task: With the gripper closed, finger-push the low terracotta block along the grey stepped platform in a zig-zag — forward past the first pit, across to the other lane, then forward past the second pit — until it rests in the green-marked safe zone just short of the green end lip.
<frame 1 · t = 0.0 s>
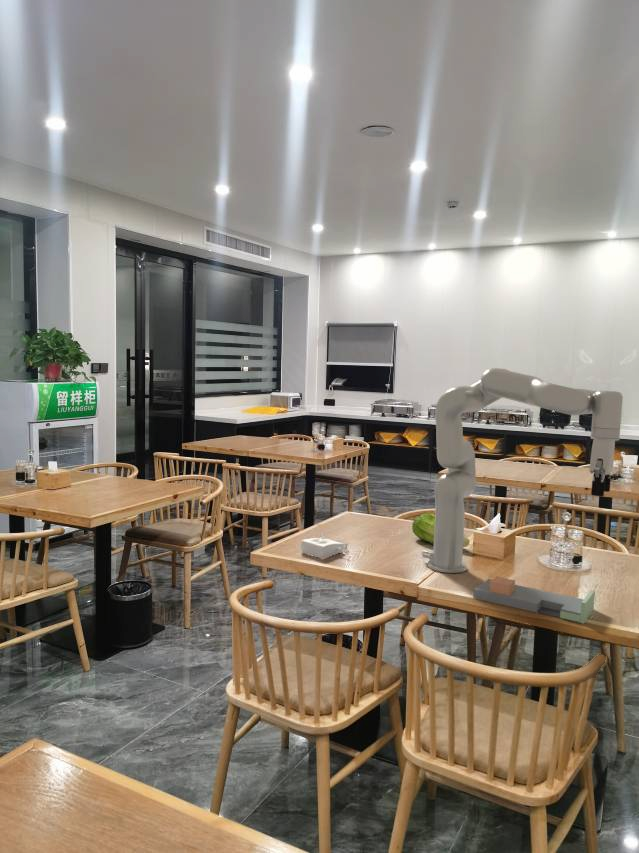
hand: (600, 493, 184), 31 cm above the table, tool pointing down, fingers open, 9 cm apart
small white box: (327, 553, 224), on the table
grey stepped platform: (532, 603, 180), on the table
lettuce: (440, 545, 240), on the table
block: (502, 591, 182), point 2 cm above the table, touching grey stepped platform
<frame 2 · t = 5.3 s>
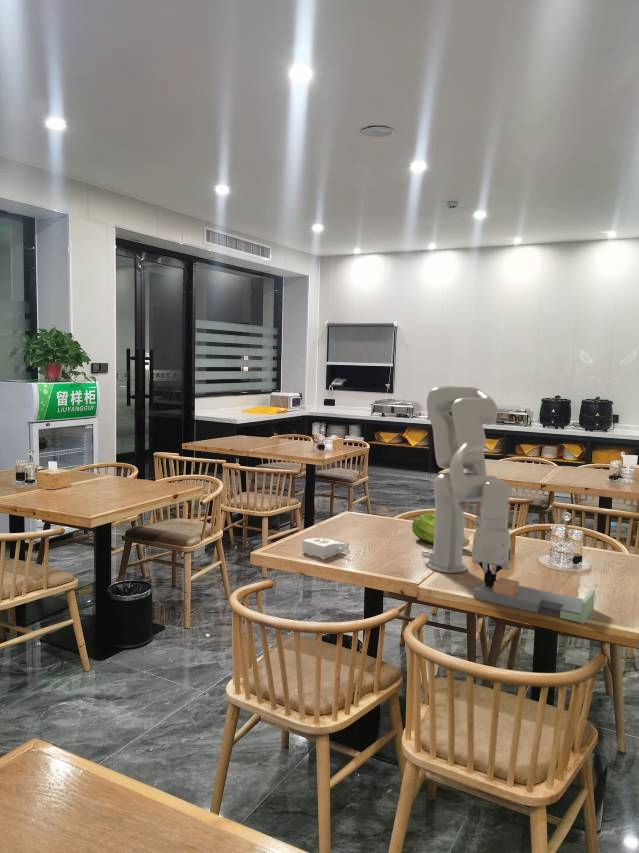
hand: (489, 585, 184), 3 cm above the table, tool pointing down, fingers closed
block: (505, 591, 182), point 2 cm above the table, touching grey stepped platform, gripper
everything else where it was.
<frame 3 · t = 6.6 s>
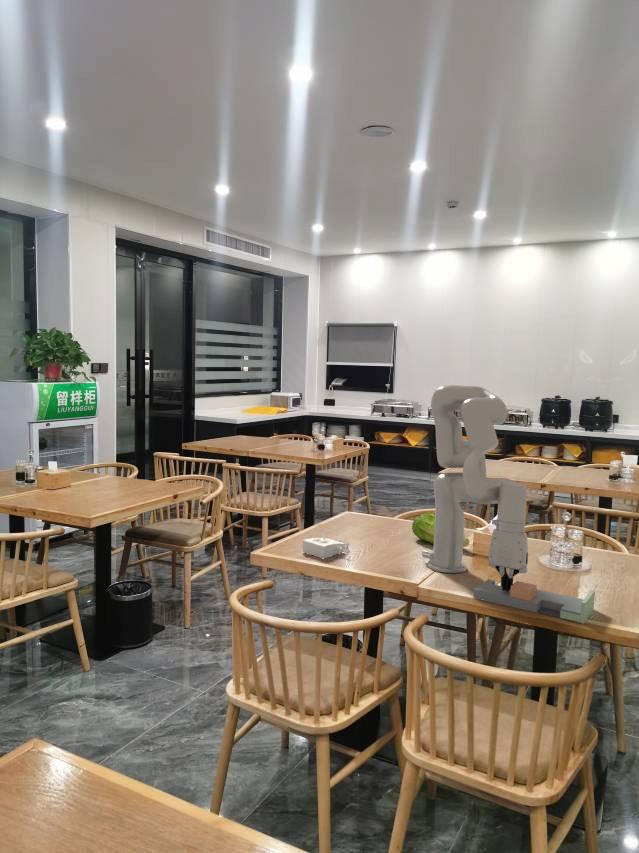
hand: (506, 589, 182), 3 cm above the table, tool pointing down, fingers closed
block: (523, 595, 179), point 2 cm above the table, touching grey stepped platform, gripper
everything else where it was.
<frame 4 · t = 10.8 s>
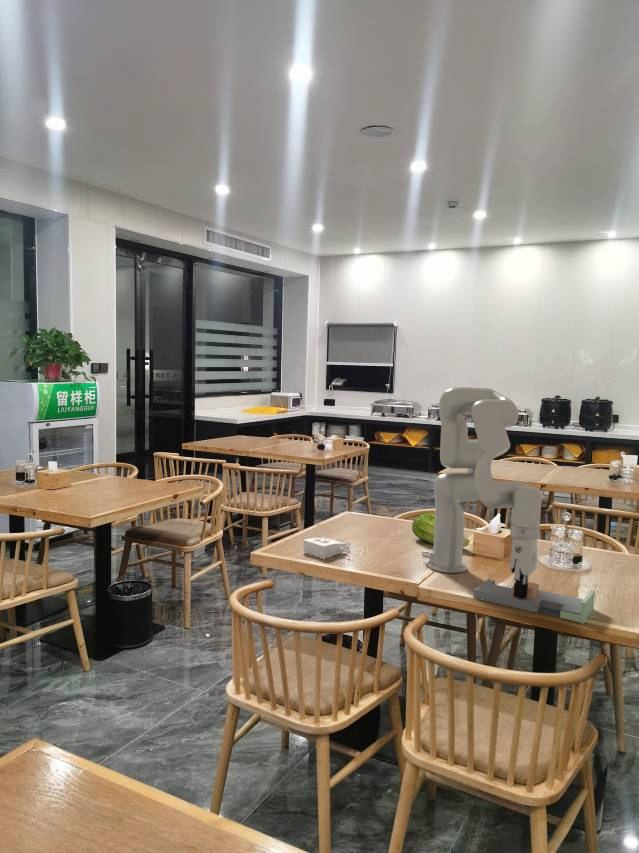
hand: (520, 596, 176), 3 cm above the table, tool pointing down, fingers closed
block: (525, 594, 180), point 2 cm above the table, touching gripper
everything else where it was.
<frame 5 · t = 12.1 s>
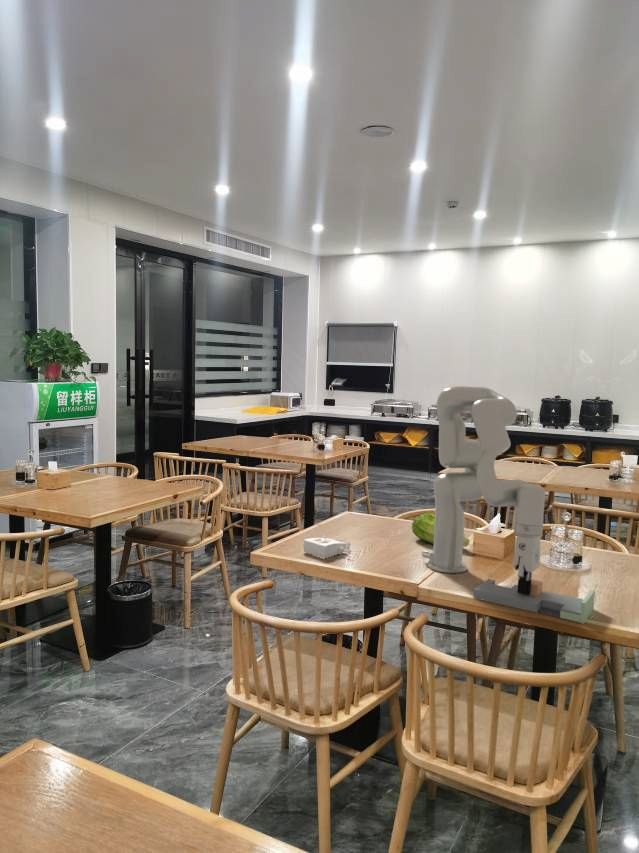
hand: (523, 593, 179), 3 cm above the table, tool pointing down, fingers closed
block: (529, 591, 183), point 2 cm above the table, touching grey stepped platform
everything else where it was.
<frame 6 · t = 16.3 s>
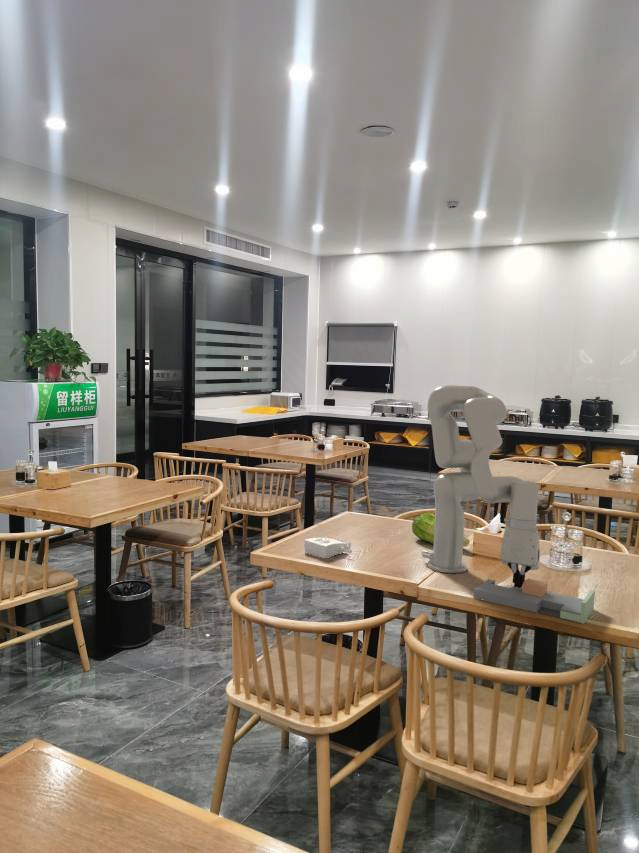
hand: (518, 586, 185), 3 cm above the table, tool pointing down, fingers closed
block: (534, 592, 182), point 2 cm above the table, touching grey stepped platform, gripper
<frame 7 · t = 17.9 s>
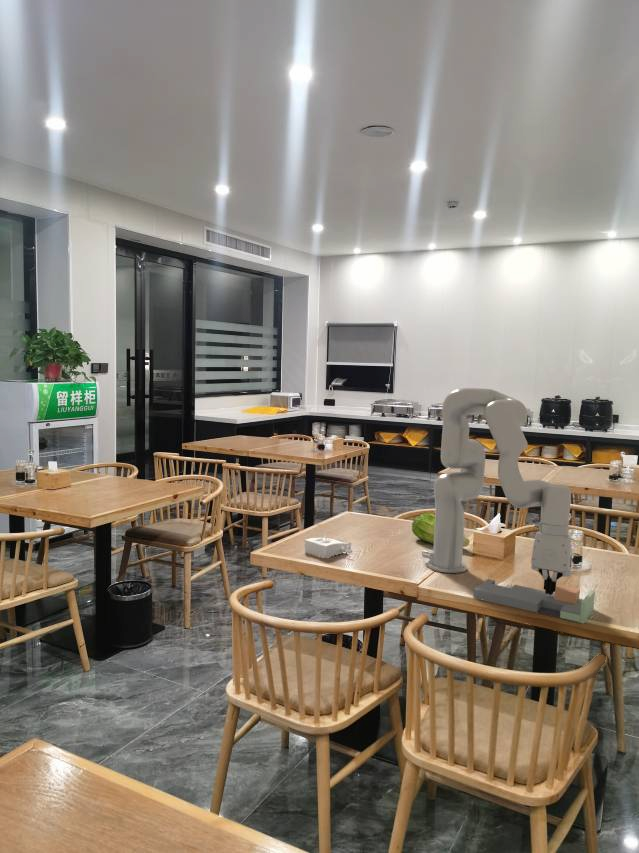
hand: (549, 592, 180), 3 cm above the table, tool pointing down, fingers closed
block: (566, 599, 178), point 2 cm above the table, touching grey stepped platform, gripper
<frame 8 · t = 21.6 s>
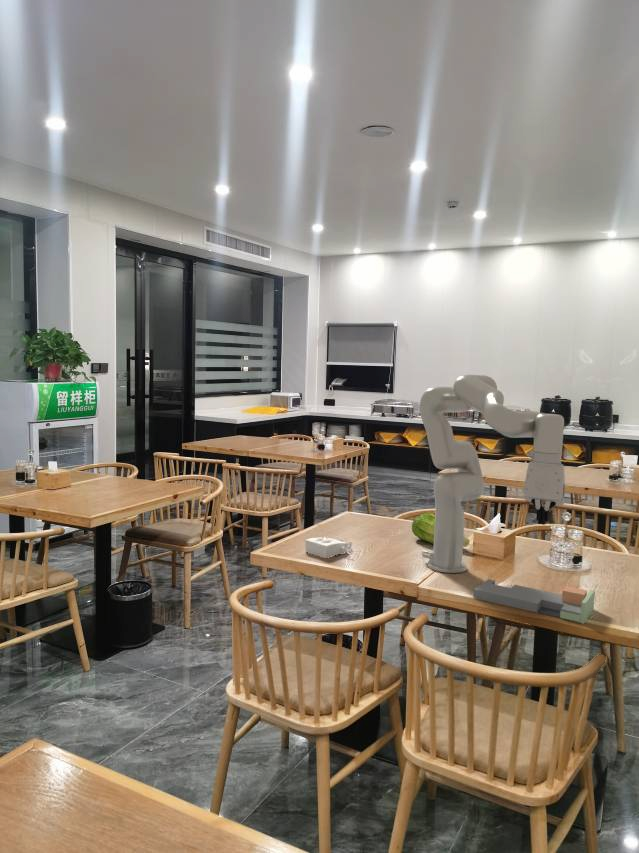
hand: (542, 523, 178), 23 cm above the table, tool pointing down, fingers closed
block: (574, 601, 177), point 2 cm above the table, touching grey stepped platform
at the end: block inside the target area (0.8 cm from its centre), point 2.3 cm above the table; block tilted 2° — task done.
